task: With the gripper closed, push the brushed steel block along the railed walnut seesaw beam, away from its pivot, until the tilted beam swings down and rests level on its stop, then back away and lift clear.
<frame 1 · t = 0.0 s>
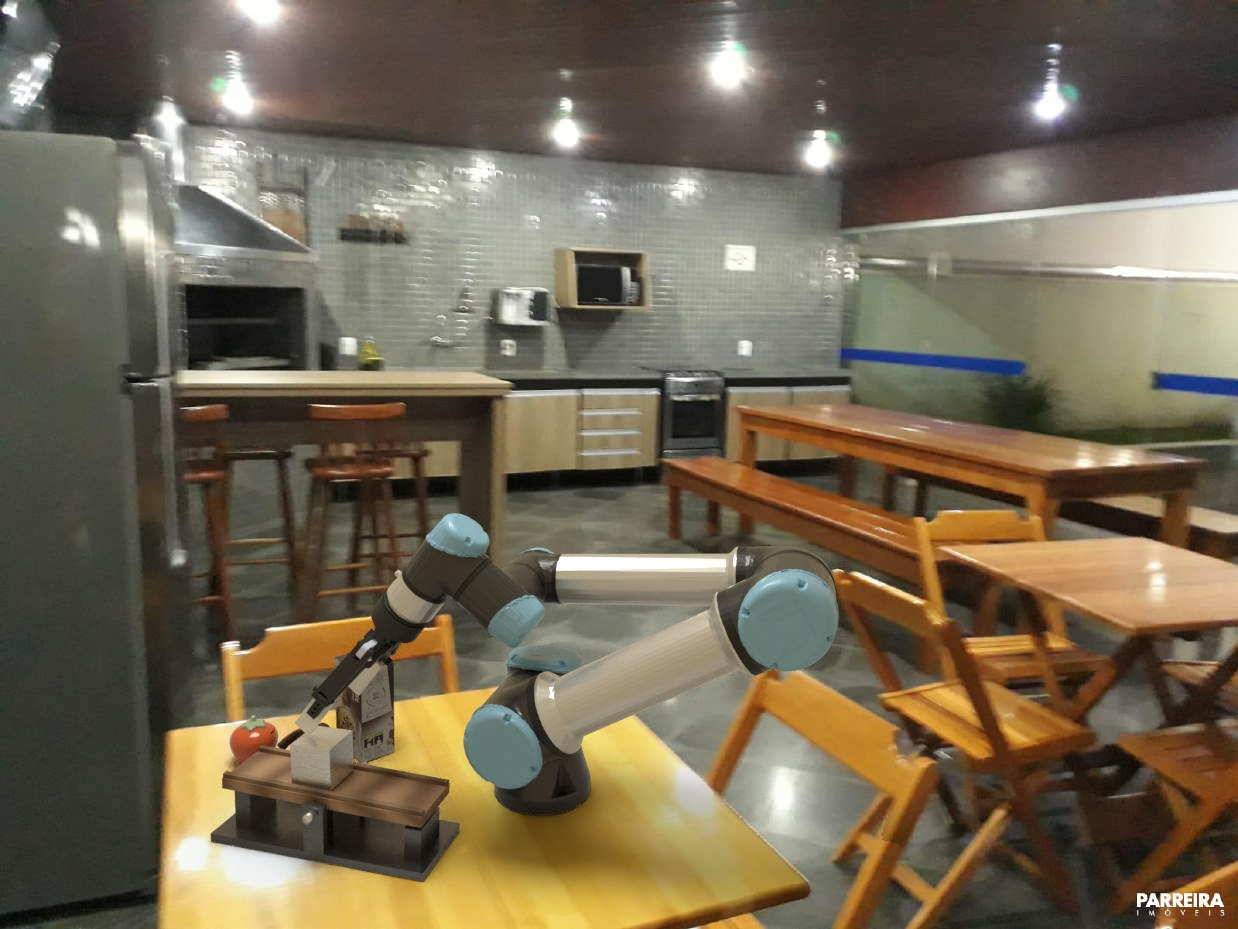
hand: (329, 708, 128), 16 cm above the table, tool tilted 35°, fingers open, 13 cm apart
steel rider: (323, 777, 122), point 9 cm above the table, touching gripper, seesaw beam
pottery mug: (309, 771, 140), on the table
coffee box: (365, 749, 148), on the table
tomato: (254, 762, 143), on the table
pivot stand: (337, 836, 123), on the table
seesaw beam: (336, 783, 122), point 8 cm above the table, hinge at -1.4°, touching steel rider
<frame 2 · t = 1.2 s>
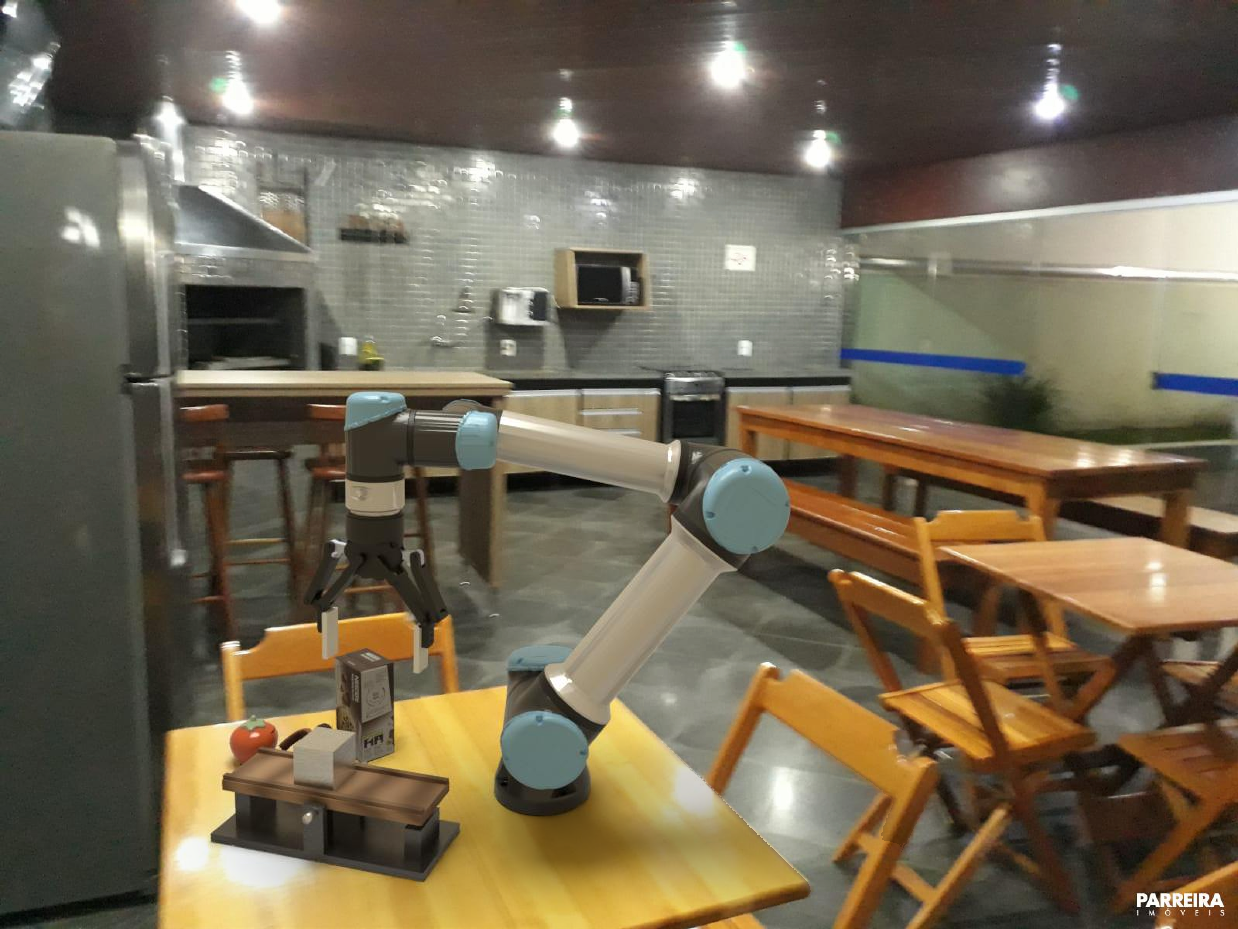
hand: (374, 662, 118), 27 cm above the table, tool pointing down, fingers open, 13 cm apart
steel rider: (325, 778, 122), point 9 cm above the table, touching seesaw beam
seesaw beam: (336, 783, 122), point 8 cm above the table, hinge at -0.4°, touching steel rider
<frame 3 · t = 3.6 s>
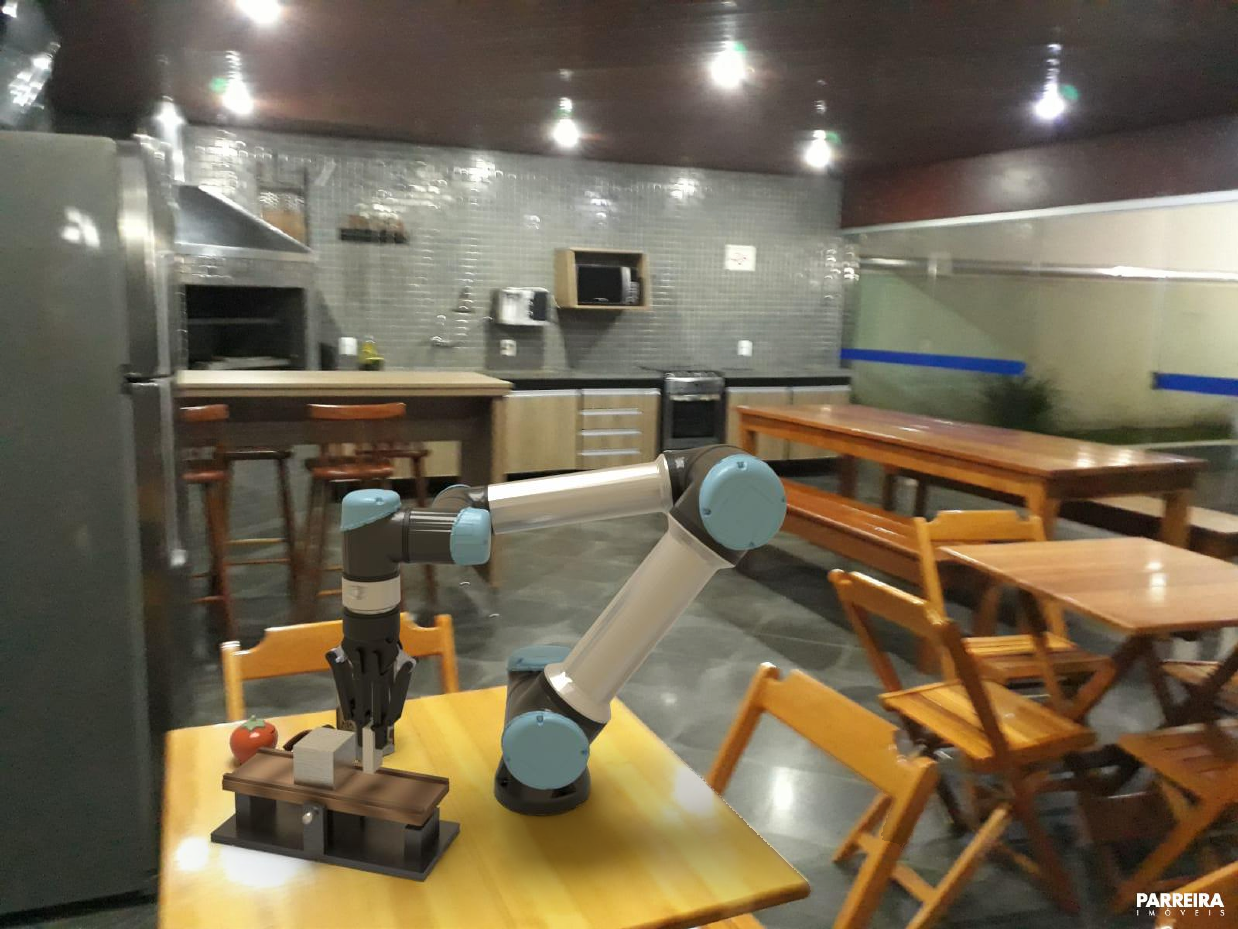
hand: (372, 768, 120), 11 cm above the table, tool pointing down, fingers closed
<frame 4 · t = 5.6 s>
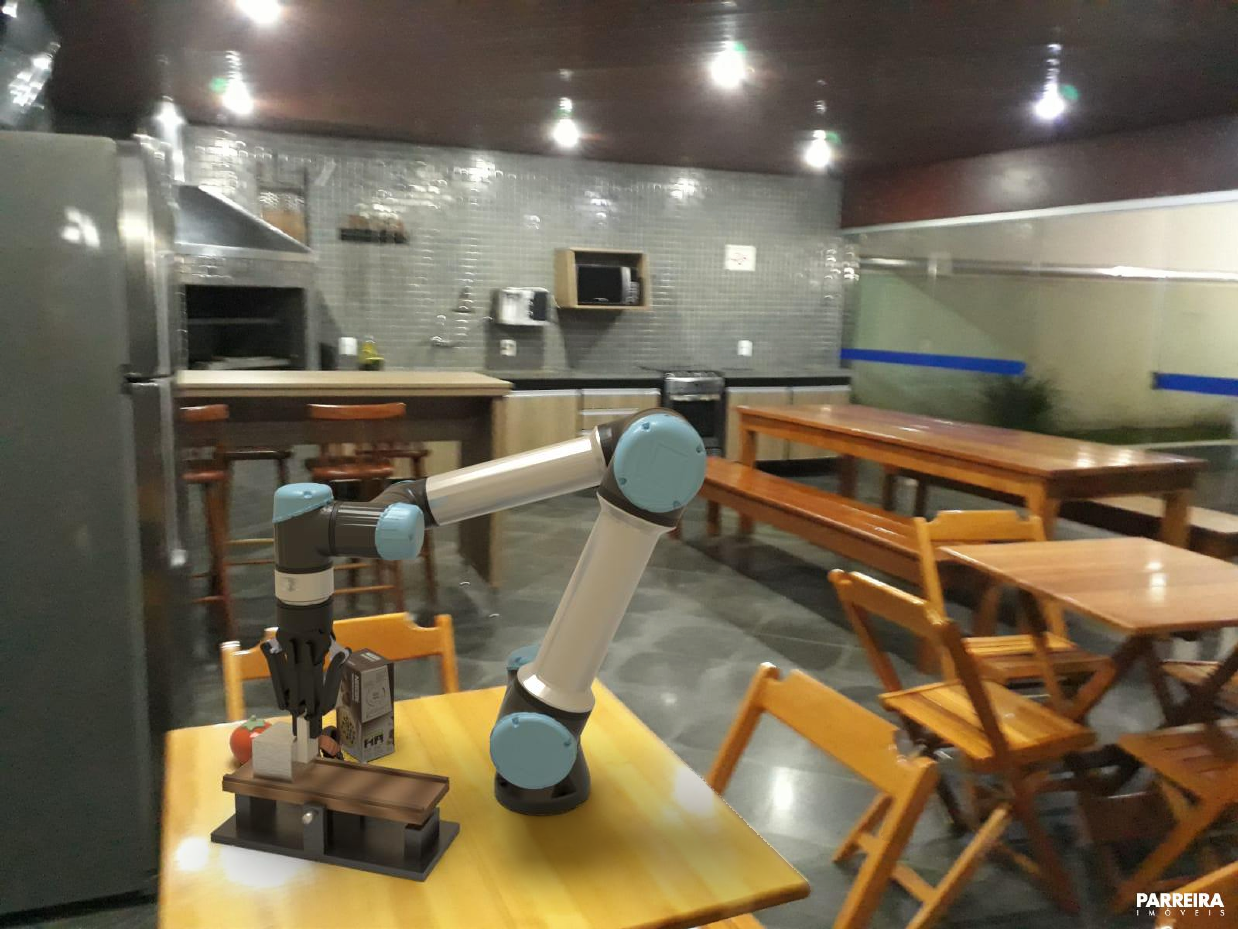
hand: (308, 757, 122), 11 cm above the table, tool pointing down, fingers closed
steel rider: (285, 772, 123), point 8 cm above the table, touching seesaw beam
seesaw beam: (336, 783, 122), point 8 cm above the table, hinge at 0.2°, touching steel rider
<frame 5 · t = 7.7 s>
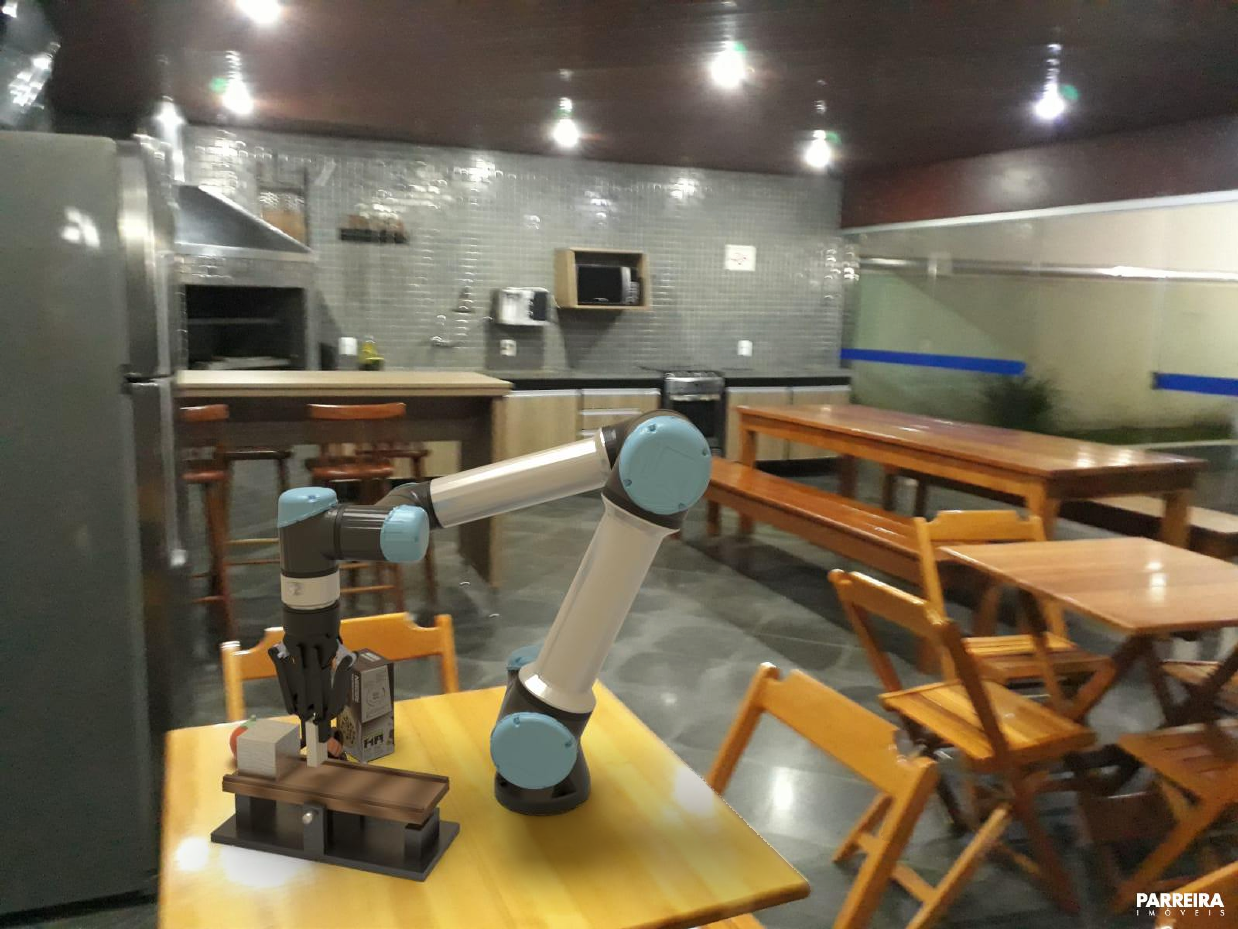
hand: (317, 761, 122), 11 cm above the table, tool pointing down, fingers closed
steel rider: (270, 769, 124), point 8 cm above the table
seesaw beam: (336, 783, 122), point 8 cm above the table, hinge at 0.4°
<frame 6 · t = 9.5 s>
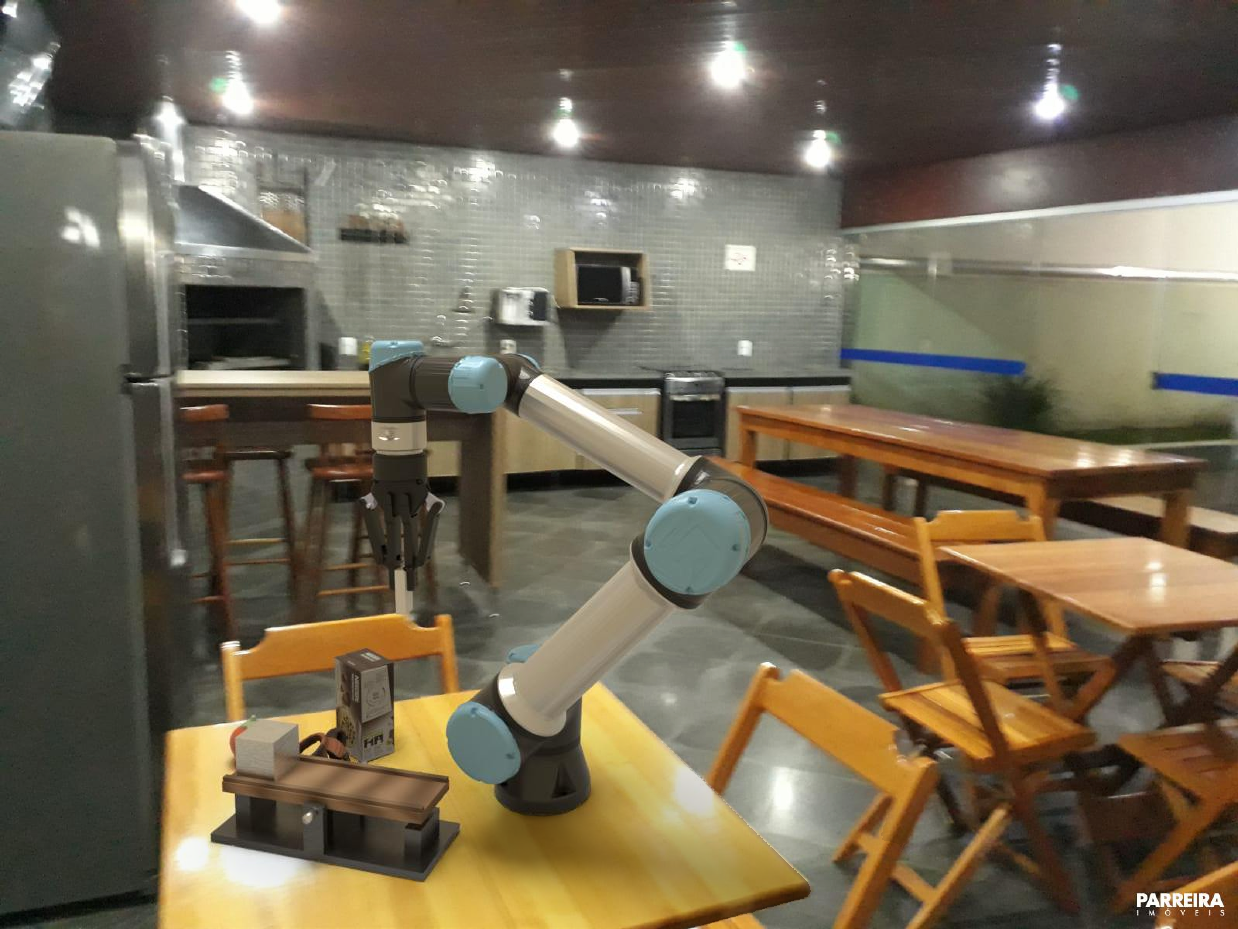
hand: (404, 611, 126), 31 cm above the table, tool pointing down, fingers closed
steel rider: (268, 770, 124), point 8 cm above the table, touching seesaw beam
seesaw beam: (336, 783, 122), point 8 cm above the table, hinge at 0.6°, touching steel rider
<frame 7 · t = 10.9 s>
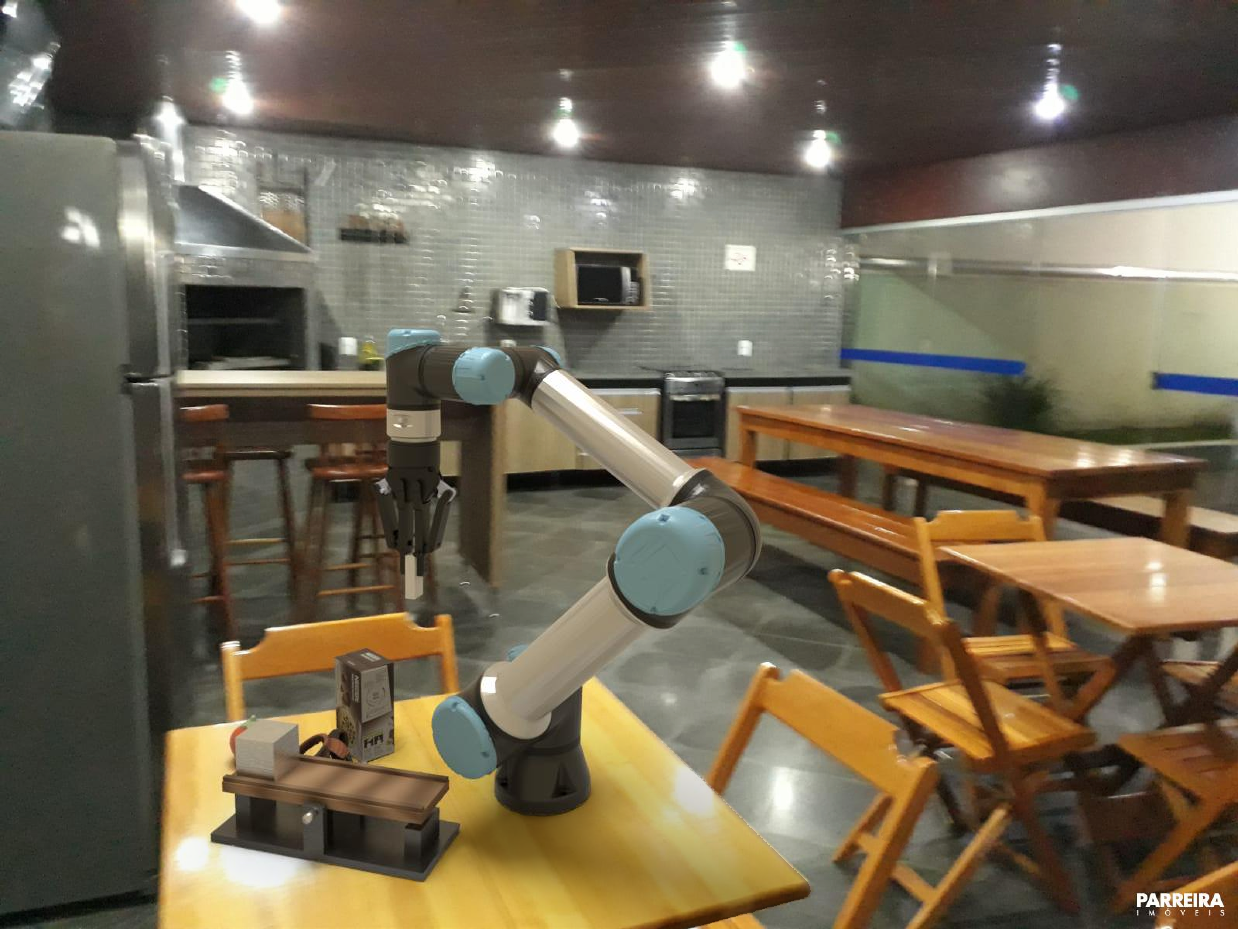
hand: (414, 596, 128), 32 cm above the table, tool pointing down, fingers closed
at the end: seesaw beam at +1° (first picture: -1°); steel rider inside the target area on the seesaw beam (0.3 cm from its centre), point 1.4 cm above the seesaw beam's base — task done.
